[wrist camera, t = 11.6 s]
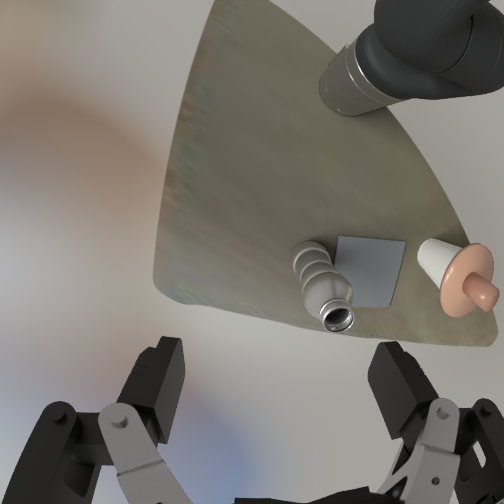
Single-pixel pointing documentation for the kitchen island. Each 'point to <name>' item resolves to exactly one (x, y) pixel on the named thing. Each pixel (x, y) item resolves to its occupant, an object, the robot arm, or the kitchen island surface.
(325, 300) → the plastic bottle
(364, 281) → the mat
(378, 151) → the kitchen island surface
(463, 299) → the lid
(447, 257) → the foam cup
